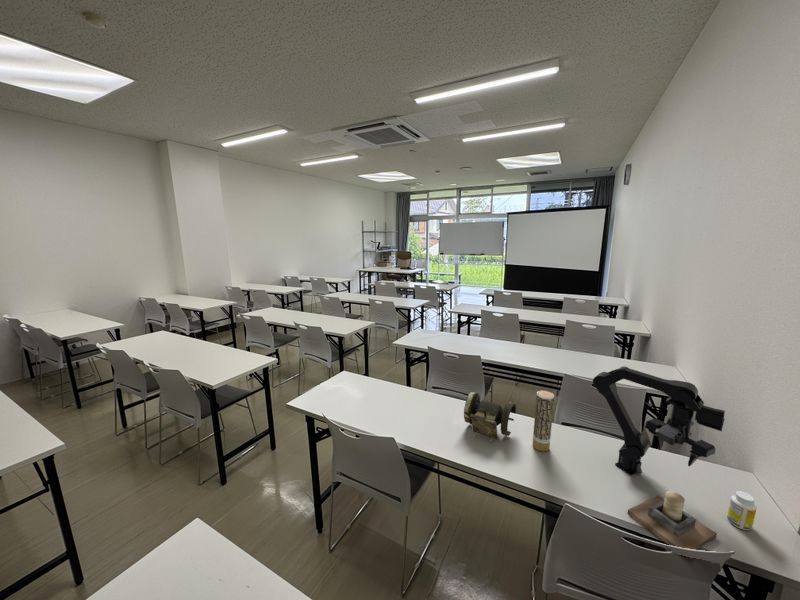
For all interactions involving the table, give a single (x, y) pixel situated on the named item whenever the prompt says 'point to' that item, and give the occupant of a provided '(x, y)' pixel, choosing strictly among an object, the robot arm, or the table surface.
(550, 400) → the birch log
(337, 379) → the table surface
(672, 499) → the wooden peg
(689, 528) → the collar socket
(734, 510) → the supplement bottle
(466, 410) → the bench grinder
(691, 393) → the robot arm
